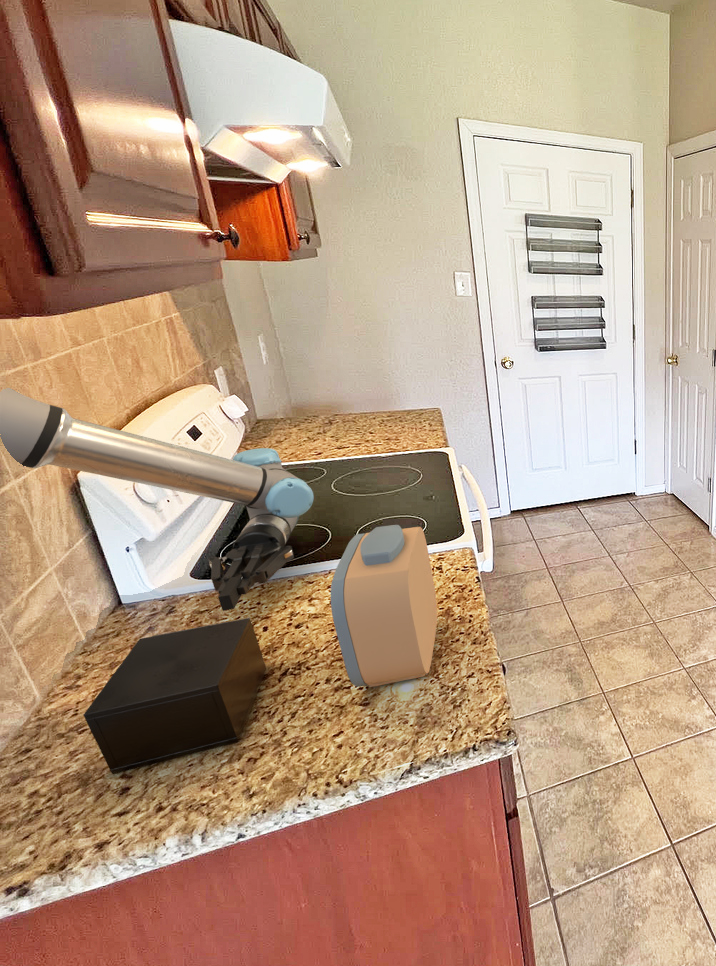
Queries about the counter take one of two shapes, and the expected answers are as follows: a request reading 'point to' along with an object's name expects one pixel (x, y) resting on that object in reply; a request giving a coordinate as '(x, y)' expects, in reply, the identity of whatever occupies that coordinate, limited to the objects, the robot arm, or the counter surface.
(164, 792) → the counter surface
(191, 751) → the cabinet
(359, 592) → the alarm clock
